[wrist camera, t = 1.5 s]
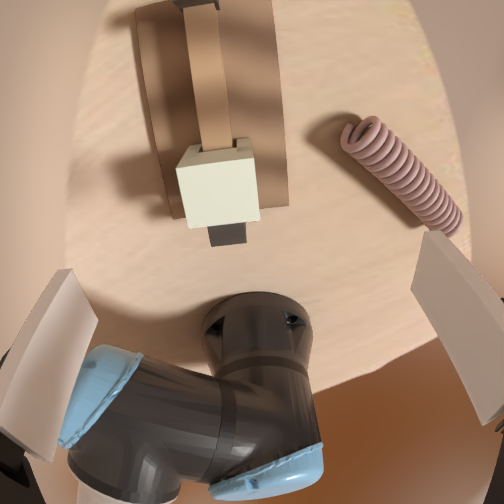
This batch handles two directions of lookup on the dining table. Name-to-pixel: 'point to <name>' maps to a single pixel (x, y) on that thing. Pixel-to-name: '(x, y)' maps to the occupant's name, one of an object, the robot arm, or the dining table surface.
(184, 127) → the track
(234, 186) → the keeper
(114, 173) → the dining table surface
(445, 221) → the coil
